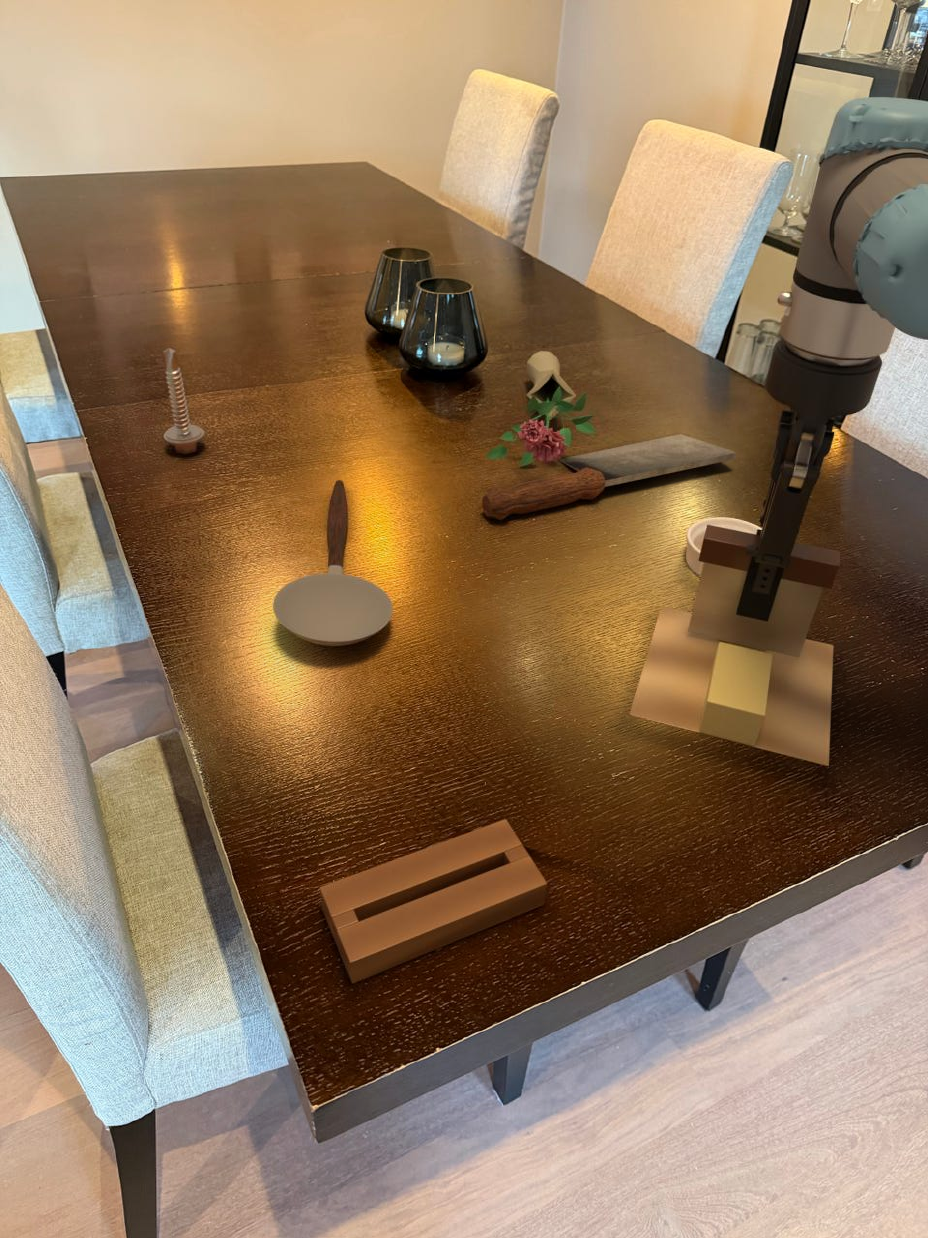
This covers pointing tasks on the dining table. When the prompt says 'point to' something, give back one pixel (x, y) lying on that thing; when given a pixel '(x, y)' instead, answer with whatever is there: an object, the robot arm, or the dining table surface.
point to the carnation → (546, 413)
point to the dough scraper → (726, 584)
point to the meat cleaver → (603, 473)
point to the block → (430, 899)
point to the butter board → (792, 702)
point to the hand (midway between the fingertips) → (754, 605)
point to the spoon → (333, 594)
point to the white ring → (698, 532)
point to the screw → (179, 410)
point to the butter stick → (737, 694)
